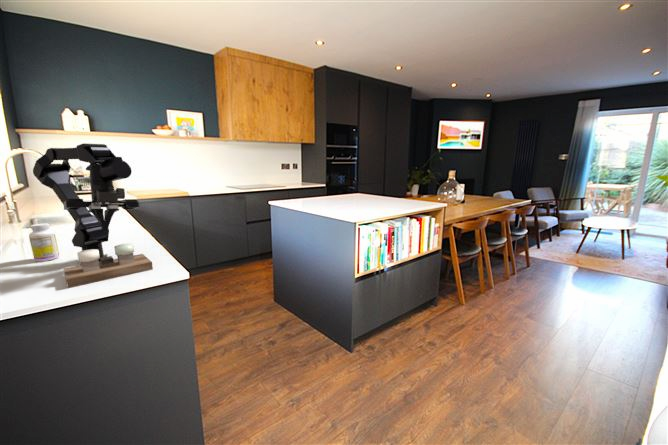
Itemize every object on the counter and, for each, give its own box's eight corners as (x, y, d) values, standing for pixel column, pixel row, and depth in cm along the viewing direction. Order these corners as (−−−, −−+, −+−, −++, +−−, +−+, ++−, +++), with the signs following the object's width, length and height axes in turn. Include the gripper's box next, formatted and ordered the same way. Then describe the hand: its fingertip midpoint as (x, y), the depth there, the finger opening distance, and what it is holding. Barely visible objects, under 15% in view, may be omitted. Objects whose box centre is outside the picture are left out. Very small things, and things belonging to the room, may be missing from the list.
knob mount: (65, 276, 92) (61, 259, 91) (143, 260, 107) (141, 245, 106) (68, 288, 84) (64, 269, 83) (152, 269, 98) (150, 253, 97)
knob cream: (79, 269, 92) (76, 251, 90) (100, 265, 95) (97, 248, 94) (81, 273, 88) (78, 255, 87) (102, 269, 91) (99, 251, 90)
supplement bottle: (45, 256, 112) (38, 222, 109) (64, 255, 112) (57, 222, 109) (29, 262, 105) (21, 226, 102) (49, 261, 106) (41, 226, 103)
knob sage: (115, 262, 98) (112, 245, 96) (133, 258, 101) (131, 242, 100) (118, 266, 94) (115, 248, 93) (137, 262, 98) (134, 245, 96)
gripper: (67, 176, 85) (71, 231, 84) (142, 180, 99) (146, 227, 98) (61, 183, 92) (65, 233, 92) (132, 186, 106) (136, 230, 106)
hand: (105, 231), depth 97 cm, fingers closed
